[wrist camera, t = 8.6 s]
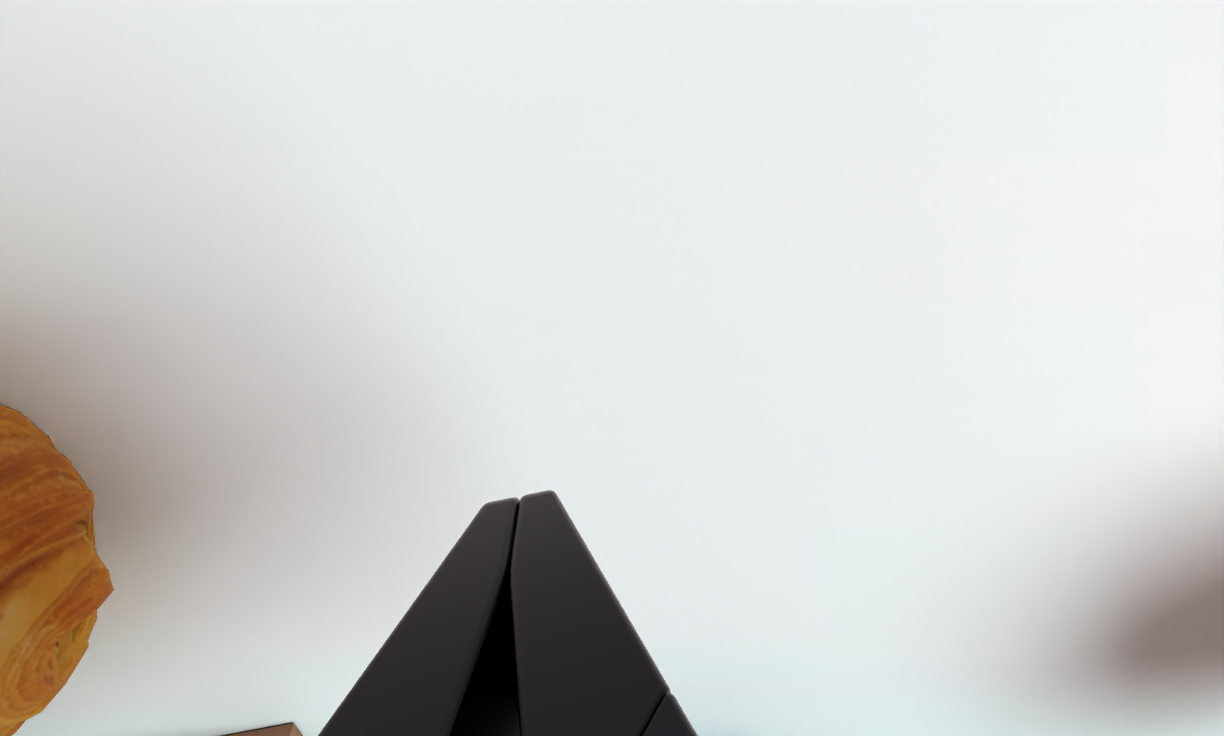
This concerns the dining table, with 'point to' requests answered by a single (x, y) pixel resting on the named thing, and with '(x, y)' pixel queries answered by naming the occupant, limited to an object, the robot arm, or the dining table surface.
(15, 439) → the croissant
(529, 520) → the robot arm
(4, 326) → the dining table surface
